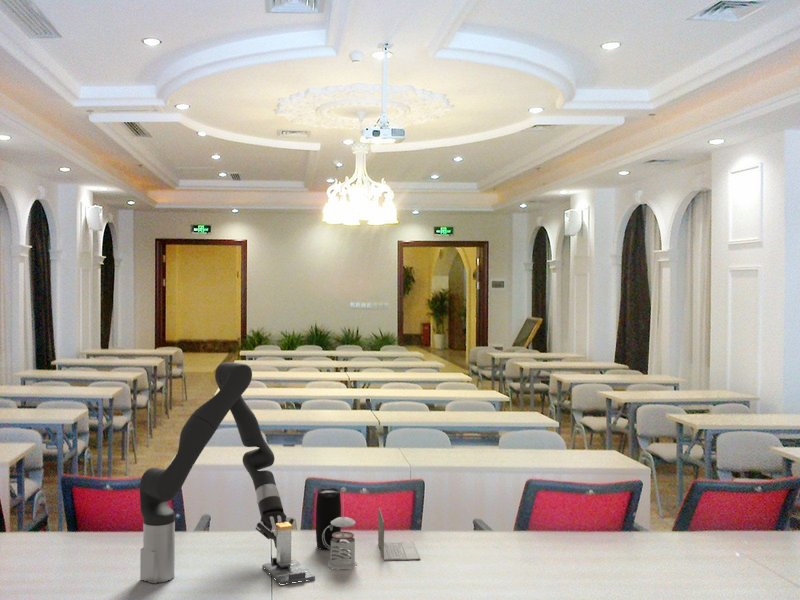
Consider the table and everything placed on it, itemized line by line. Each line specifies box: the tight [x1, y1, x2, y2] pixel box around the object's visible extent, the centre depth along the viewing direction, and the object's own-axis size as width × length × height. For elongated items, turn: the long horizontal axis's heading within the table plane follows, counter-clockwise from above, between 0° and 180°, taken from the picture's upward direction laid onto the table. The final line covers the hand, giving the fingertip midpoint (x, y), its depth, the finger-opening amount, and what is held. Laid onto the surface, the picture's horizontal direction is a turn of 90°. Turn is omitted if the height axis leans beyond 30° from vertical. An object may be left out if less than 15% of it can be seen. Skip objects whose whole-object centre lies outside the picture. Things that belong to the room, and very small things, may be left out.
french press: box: [322, 487, 358, 570], centre depth 267 cm, size 10×12×25 cm
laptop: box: [377, 507, 421, 562], centre depth 281 cm, size 18×12×13 cm
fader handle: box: [276, 522, 293, 568], centre depth 262 cm, size 4×4×13 cm
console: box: [262, 557, 316, 584], centre depth 259 cm, size 17×11×3 cm, turn 27°
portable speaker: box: [315, 487, 342, 550], centre depth 285 cm, size 9×9×20 cm
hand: (281, 548), depth 264 cm, fingers closed
